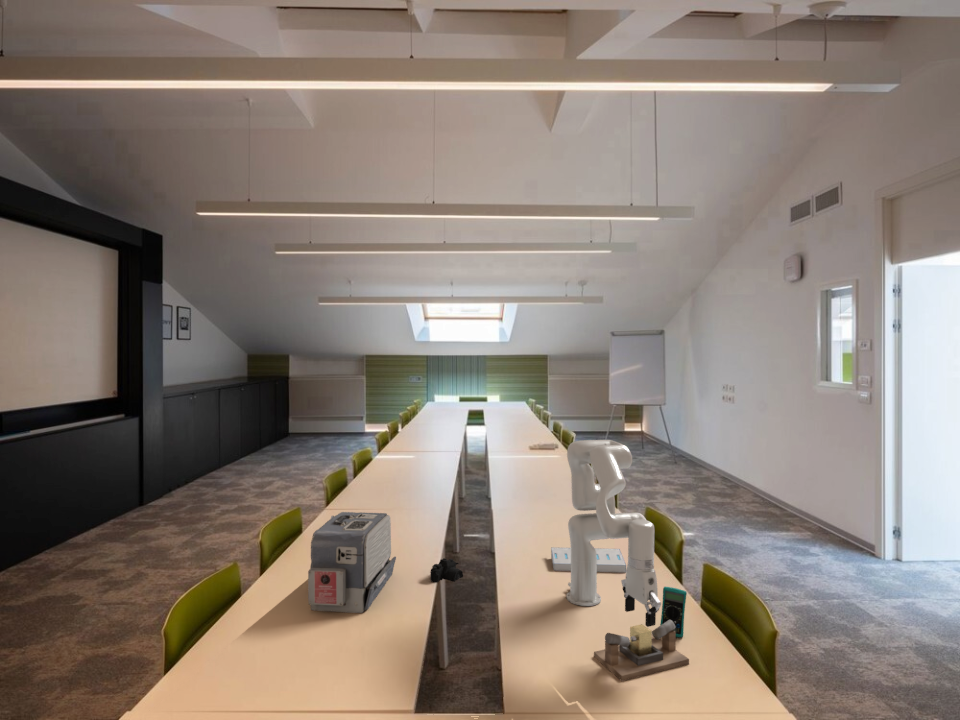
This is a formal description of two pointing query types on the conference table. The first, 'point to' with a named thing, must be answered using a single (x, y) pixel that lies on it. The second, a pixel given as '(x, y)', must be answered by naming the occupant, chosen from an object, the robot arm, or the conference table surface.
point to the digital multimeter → (674, 608)
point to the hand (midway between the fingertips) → (639, 618)
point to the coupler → (640, 640)
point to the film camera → (445, 571)
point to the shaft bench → (633, 666)
